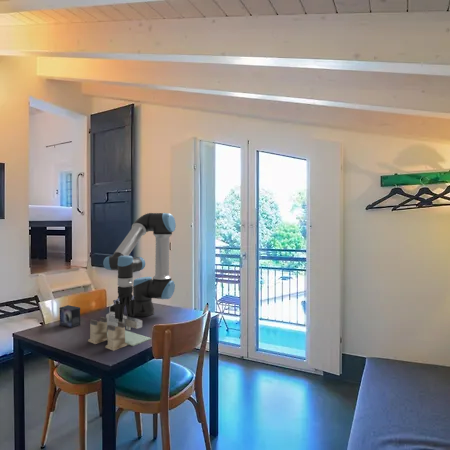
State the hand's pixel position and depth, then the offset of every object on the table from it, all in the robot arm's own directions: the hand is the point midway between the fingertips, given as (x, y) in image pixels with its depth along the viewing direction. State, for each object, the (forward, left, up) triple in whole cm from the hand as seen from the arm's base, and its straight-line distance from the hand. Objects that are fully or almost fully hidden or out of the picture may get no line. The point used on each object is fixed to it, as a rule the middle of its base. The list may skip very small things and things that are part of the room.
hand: (125, 330), depth 183 cm
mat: (0, 0, -4) cm, 4 cm away
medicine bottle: (-9, -20, -4) cm, 22 cm away
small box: (+6, -41, -4) cm, 42 cm away
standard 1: (+11, -7, -4) cm, 13 cm away
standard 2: (+11, +7, -4) cm, 13 cm away
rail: (0, 0, +3) cm, 3 cm away
